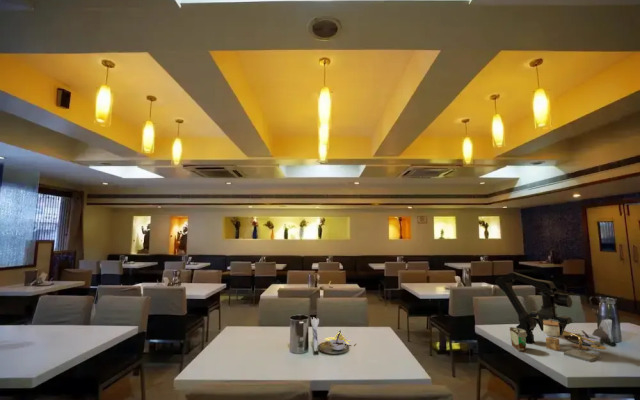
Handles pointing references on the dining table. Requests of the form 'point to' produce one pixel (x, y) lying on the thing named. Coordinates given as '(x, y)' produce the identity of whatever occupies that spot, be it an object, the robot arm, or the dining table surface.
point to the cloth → (336, 338)
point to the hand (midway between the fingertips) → (551, 333)
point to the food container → (518, 339)
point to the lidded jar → (551, 328)
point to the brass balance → (597, 344)
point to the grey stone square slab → (582, 355)
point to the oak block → (552, 343)
